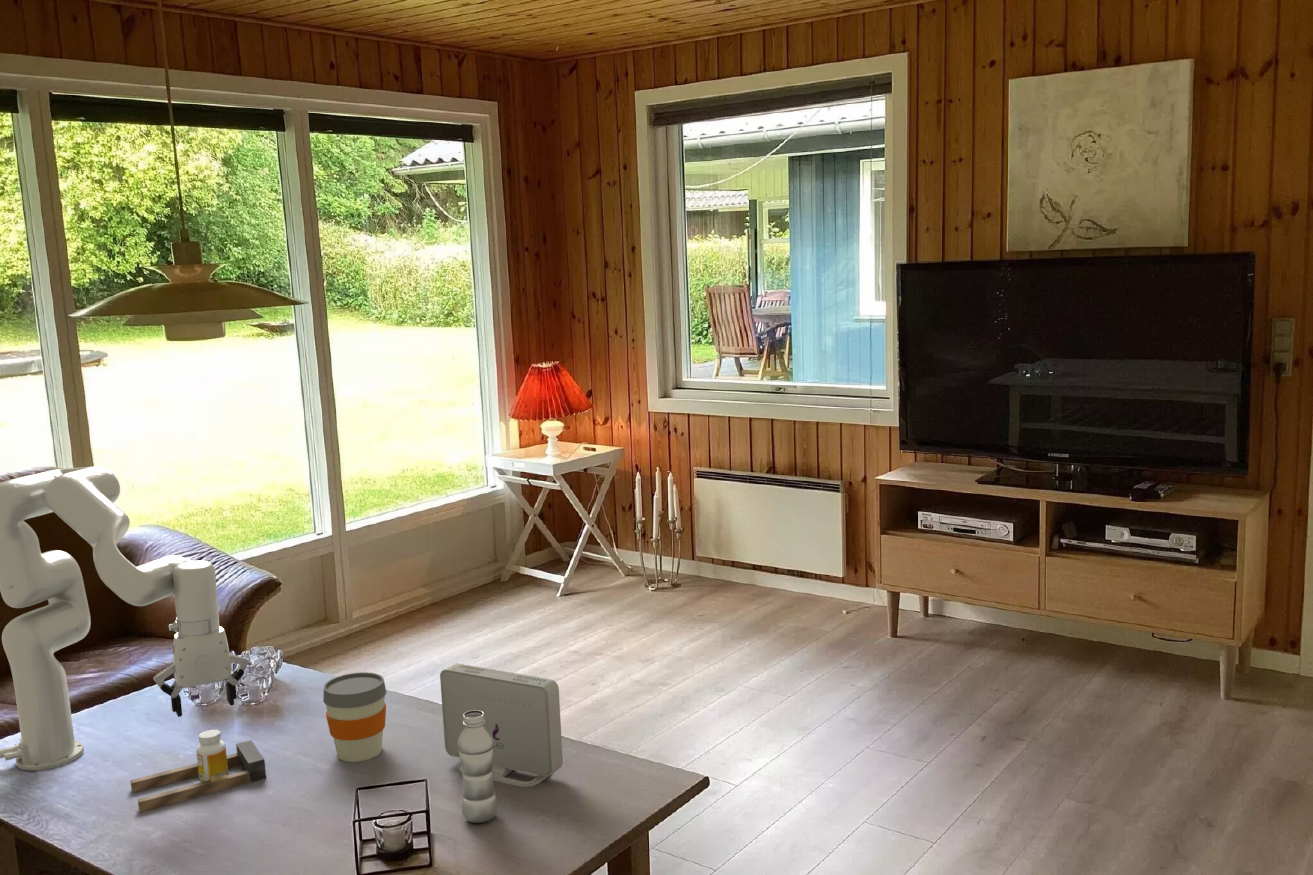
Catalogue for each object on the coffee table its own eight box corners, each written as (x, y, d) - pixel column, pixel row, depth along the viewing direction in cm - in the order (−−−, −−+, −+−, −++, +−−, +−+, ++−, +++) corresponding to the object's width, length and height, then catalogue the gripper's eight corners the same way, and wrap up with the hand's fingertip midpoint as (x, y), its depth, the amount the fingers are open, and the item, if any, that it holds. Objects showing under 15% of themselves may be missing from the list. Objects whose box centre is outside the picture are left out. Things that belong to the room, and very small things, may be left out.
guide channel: (140, 812, 209) (137, 792, 209) (131, 789, 219) (129, 770, 218) (266, 778, 221) (264, 759, 221) (253, 758, 231) (251, 740, 230)
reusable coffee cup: (399, 754, 230) (393, 685, 227) (338, 771, 223) (332, 700, 221) (379, 734, 240) (374, 667, 238) (320, 749, 234) (314, 681, 231)
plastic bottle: (481, 806, 207) (474, 703, 204) (506, 816, 203) (499, 712, 199) (454, 820, 202) (446, 715, 199) (479, 831, 198) (472, 724, 194)
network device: (439, 767, 223) (432, 672, 220) (465, 750, 231) (459, 657, 228) (546, 792, 211) (541, 692, 208) (571, 773, 219) (566, 675, 216)
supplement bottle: (233, 773, 224) (229, 727, 222) (220, 786, 219) (216, 739, 217) (208, 773, 224) (203, 727, 223) (194, 786, 219) (189, 739, 218)
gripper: (153, 639, 209) (160, 725, 212) (249, 622, 218) (255, 705, 221) (146, 628, 215) (154, 712, 218) (240, 611, 224) (246, 692, 227)
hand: (205, 708), depth 219 cm, fingers open, 9 cm apart
